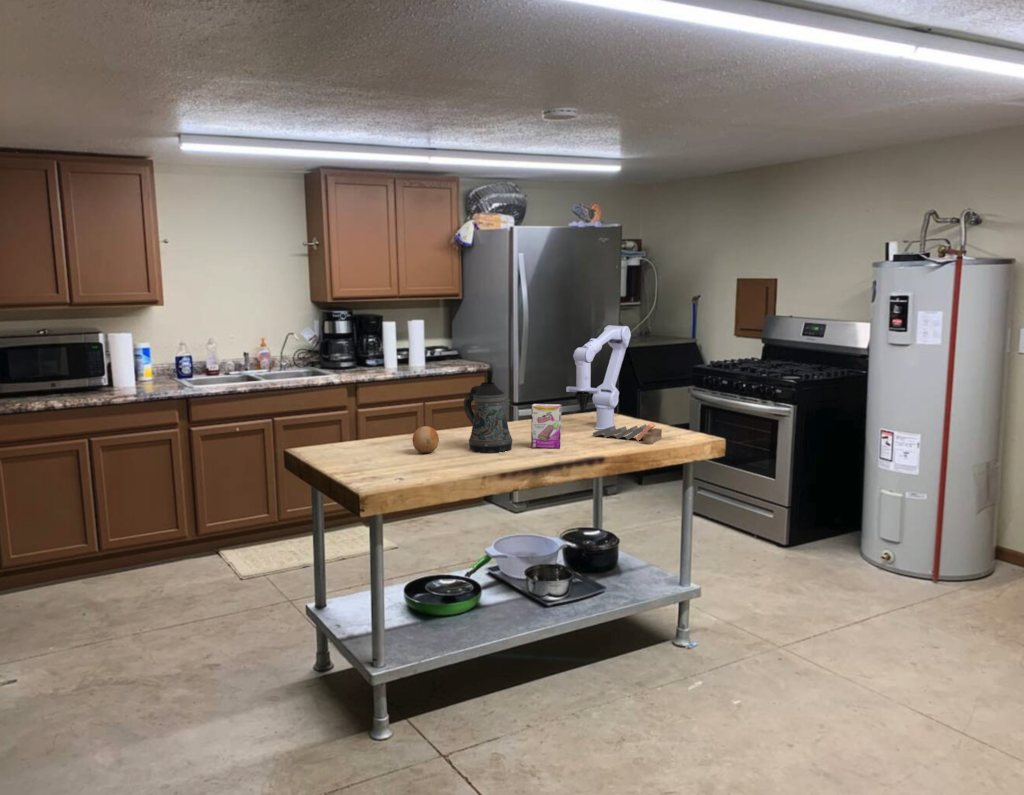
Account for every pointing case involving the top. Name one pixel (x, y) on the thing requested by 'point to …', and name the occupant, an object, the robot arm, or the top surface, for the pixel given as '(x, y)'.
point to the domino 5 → (648, 428)
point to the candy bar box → (546, 426)
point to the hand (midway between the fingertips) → (583, 410)
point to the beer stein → (488, 419)
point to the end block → (652, 436)
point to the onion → (425, 439)
